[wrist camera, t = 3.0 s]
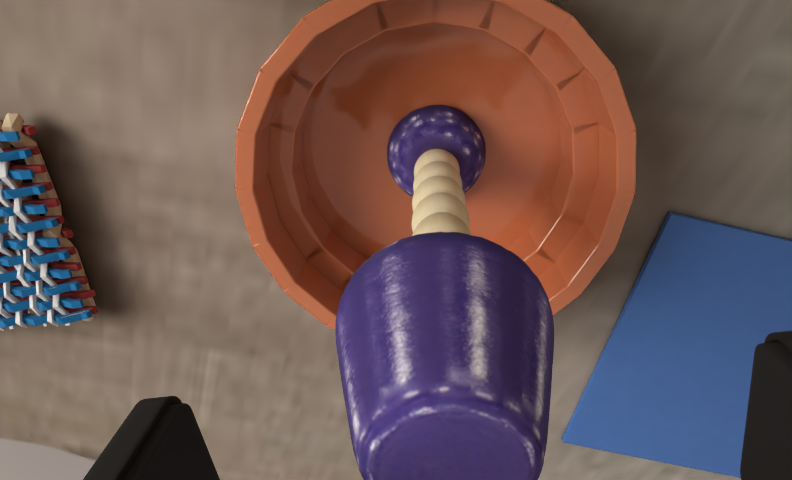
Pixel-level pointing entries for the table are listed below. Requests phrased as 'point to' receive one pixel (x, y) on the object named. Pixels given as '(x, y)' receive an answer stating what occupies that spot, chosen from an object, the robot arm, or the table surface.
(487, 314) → the toy lamp
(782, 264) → the cloth
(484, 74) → the bowl
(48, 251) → the woven mat
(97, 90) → the table surface
